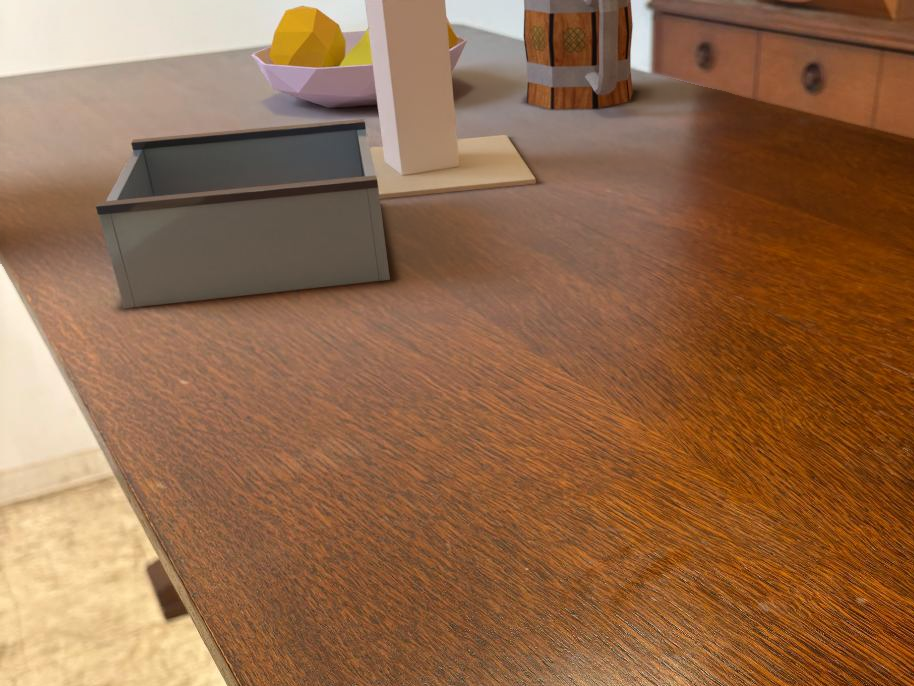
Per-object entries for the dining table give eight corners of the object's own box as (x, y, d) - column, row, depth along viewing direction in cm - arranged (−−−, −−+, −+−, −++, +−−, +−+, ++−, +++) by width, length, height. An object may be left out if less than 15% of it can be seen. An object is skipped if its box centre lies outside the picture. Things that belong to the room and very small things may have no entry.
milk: (459, 167, 107) (439, -91, 94) (400, 176, 105) (372, -86, 92) (439, 153, 111) (417, -95, 99) (382, 162, 109) (353, -90, 97)
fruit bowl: (386, 127, 124) (373, 19, 118) (217, 110, 137) (197, 11, 130) (517, 79, 144) (512, -16, 137) (359, 67, 156) (347, -21, 150)
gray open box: (123, 310, 80) (95, 206, 76) (154, 228, 96) (132, 139, 92) (390, 281, 82) (377, 179, 78) (375, 206, 99) (364, 118, 94)
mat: (322, 205, 100) (321, 199, 99) (319, 156, 115) (318, 151, 114) (535, 184, 102) (535, 178, 102) (506, 139, 117) (506, 134, 117)
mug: (514, 92, 137) (506, -42, 128) (616, 82, 139) (615, -51, 131) (553, 126, 121) (547, -24, 113) (668, 114, 123) (671, -34, 115)
